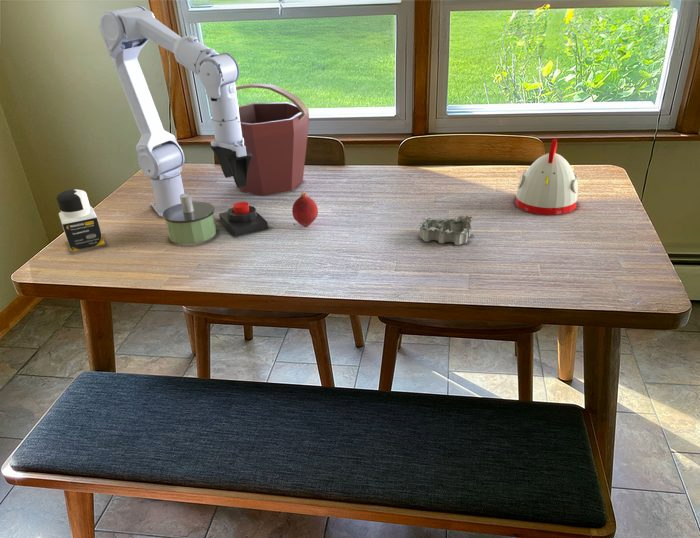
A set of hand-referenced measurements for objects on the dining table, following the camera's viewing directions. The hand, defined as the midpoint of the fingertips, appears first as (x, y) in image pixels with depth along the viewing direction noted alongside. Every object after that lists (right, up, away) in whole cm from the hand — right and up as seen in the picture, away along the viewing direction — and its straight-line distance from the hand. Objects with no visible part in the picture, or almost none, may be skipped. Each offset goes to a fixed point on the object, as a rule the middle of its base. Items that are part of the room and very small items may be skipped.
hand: (235, 181), depth 137 cm
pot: (-10, -12, +2) cm, 16 cm away
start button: (+1, -6, +4) cm, 7 cm away
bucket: (+4, +7, +29) cm, 30 cm away
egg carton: (+46, -13, -4) cm, 48 cm away
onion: (+16, -9, +4) cm, 19 cm away
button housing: (+1, -8, +6) cm, 10 cm away
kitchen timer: (+72, -3, +9) cm, 73 cm away
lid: (-10, -7, -1) cm, 13 cm away
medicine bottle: (-33, -14, +1) cm, 36 cm away
